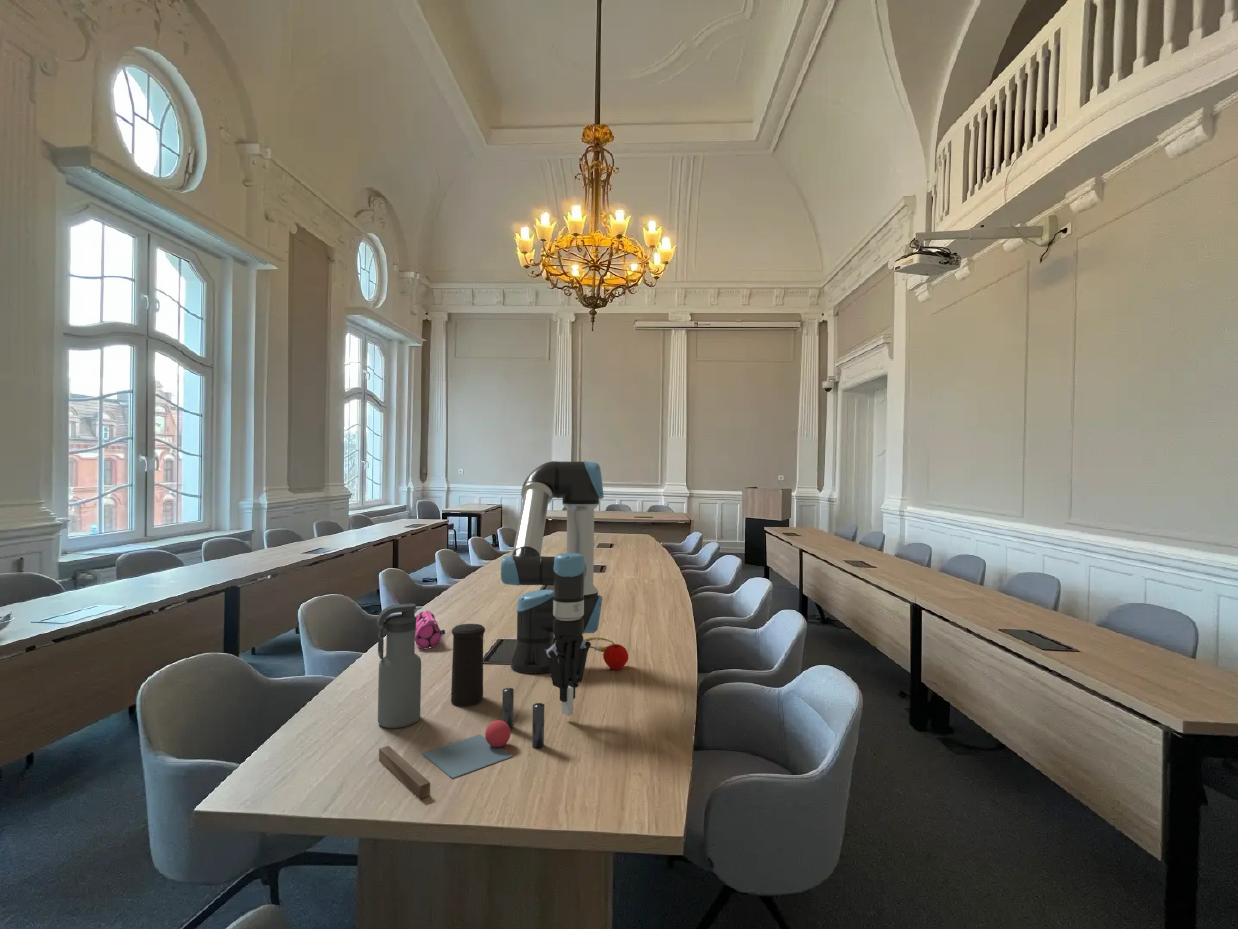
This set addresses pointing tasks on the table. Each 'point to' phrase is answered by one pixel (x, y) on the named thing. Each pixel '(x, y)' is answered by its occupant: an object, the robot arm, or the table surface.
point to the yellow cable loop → (599, 646)
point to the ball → (497, 733)
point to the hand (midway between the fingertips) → (567, 713)
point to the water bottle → (398, 668)
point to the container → (467, 664)
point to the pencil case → (427, 630)
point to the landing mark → (466, 756)
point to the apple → (615, 656)
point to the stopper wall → (404, 772)
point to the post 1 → (508, 706)
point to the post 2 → (538, 726)
